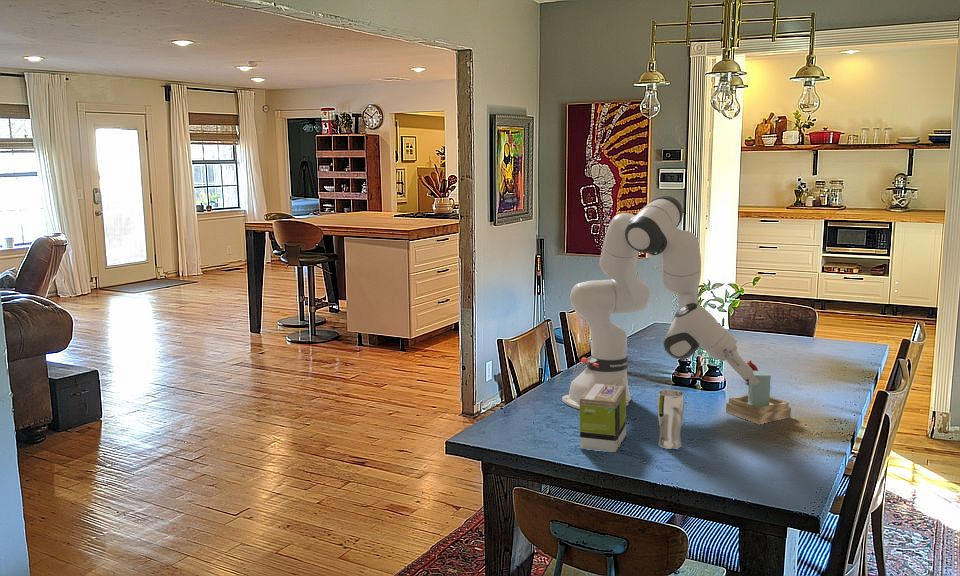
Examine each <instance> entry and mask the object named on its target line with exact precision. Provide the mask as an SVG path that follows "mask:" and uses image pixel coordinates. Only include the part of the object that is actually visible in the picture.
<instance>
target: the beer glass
mask: <svg viewBox="0 0 960 576" xmlns="http://www.w3.org/2000/svg"><path fill="white" fill-rule="evenodd" d="M684 396H685V395H684V392H683V391H681V390H678V389H670V388H669V389H667V388H666V389H662V390H659V391H658V398H657V417H658V424H659V425H658V426H659V437H658V445H659V446H661V447H663V448H669V449H672V448H679V447H682V441H681V440H682V439H681V429H682V425H683V421H684V420H683V419H684V416H685V415H684V414H685V397H684ZM659 446H658V447H659ZM663 448H662V449H663Z"/></svg>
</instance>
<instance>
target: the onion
mask: <svg viewBox="0 0 960 576" xmlns="http://www.w3.org/2000/svg"><path fill="white" fill-rule="evenodd" d="M746 363H747V364H748V365H749V366H750V367H751V369H752V370H753V371H759V368H758V367H757V366H756V364H754V363H753V362H752V360H751V359H749V360H747V362H746ZM743 380H744V381H745V382H747V383H748V384H749V379H748V378H747V379H743Z"/></svg>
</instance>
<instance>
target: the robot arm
mask: <svg viewBox="0 0 960 576" xmlns="http://www.w3.org/2000/svg"><path fill="white" fill-rule="evenodd" d="M683 209H684V208H683V206H682V204H681V202H680V201H679V200H677V198H676V197H673V196H671V195H662V196H658V197H656V198H654V199H652V200H651V201H650V202H649V203H647V204H646V205H645V206H644V207H642V208H641V209H640V210H639V212H637V213H636V214H633V213H629V212H622V213H618V214H616V215H614V216H613V217H612V219H611V221H610V223H609V225H608V226H607V230H606V232H605V236H604V239H603V243H602V249H601V251H600V252H601V253H600V258H599V261H598V262H599V267H600V270H601V271H602V273H603V275H606V276H607V277H608V278H609V279H603V280H602V279H597V280H592V279H591V280H587V281H586V280H585V281H582V282H579V283H575V284H574V286H573V287H571V291H570V295H569V302H570V305H571V307H572V309H573V310H574V312H576V313H577V314H578V315H579V316H581V317H582V319H584V321H585V322H586V324H587V325H588V328H589V332H590V336H591V338H590V339H591V355H590V357H589V358H587V357H582V358H581V359H580V363H581V364H584V365H587V366H586V368H585V369H584V370H583V371H582V372H581V373H580V374H579V375H577V376H576V377H575V378H574V379H573V380H572V381H571V383H570V385H569V386H570V387H569V392H568V393H569V394H565V395H563V396H562V397H561V401H562V403H565V405H567V406H569V407H572V408H574V409H577V410H580V398H581V397H582V396H583V395H584V393H585V392H586V391H587V390H588V388H589V387H590V386H591V385H592V384H593V383H594V384H605V385H618V386H626V407H628V406H629V404H630V403H629V402H631V400H632V397H631V394H630V393H631V392H630V389H629V382H628V371H627V370H628V368H629V357H628V355H627V353H628V351H627V350H628V349H627V348H628V347H627V346H628V344H627V343H628V335H627V333H626V331H625V329H624V328H622V327H621V326H619V325H618V324H616V323H614V322H611V318H610V317H611V315H618V314H633V313H636V312H639V311H644V310H646V308H647V306H648V305H649V303H650V299H651V292H650V291H651V290H650V289H649V286H648V285H647V283H646V282H645V281H643V280H641V279H640V278H639V276H638V274H637V265H638V259H639V253H643V254H649V255H651V256H657V255H661V273H662V282H663V285H664V288H665V289H666V290H667V291H669V292H670V293H672V294H674V295H677V296H676V297H677V298H676V299H677V311H676V313H675V314H674V316H673V319H672V322H671V324H670V327H669V329H668V331H667V333H666V335H665V338H664V341H663V348H664V350H665V352H666V354H668V355H669V356H670V357H671V358H674V359H676V360H686V359H688V358H690V357H691V356H692V355H693V354H695V353H696V352H697V350H699V348H702V349H703V350H704V351H705V352H706V353H707V354H708V355H709V356H710V357H711V358H712V359H713V360H714V361H719V360H720V361H721V362H727V364H728V365H729V366H730V367H731V368H732V369H733V370H734V371H735V372H736V373H737V374H738V375H739V376H740V377H741V378H742V379H743V380H744V379H747V378H748V379H749V380H750V381H751V382H752V383H753V384H754V385H756V384H758V383H759V380H758V379H757V378H756V377H755V375H754V374H753V373H754V371H753V370H752V369H751V367H750V366H749V365H748V364H747V363H748V362H747V361H746V360H745V359H744V358H743V356H741V354H740V352H738V350H737V349H738V346H737V342H738V341H737V339H736V338H735V337H734V336H733V335H732V334H731V333H730V331H728V330H727V329H726V328H725V327H724V326H722V325H720V324H719V323H718V320H717V319H716V318H715V317H714V316H713V315H712V314H711V313H710V312H709V311H708V310H707V309H706V308H705V307H703V306H702V305H701V304H700V303H699V301H700V300H699V287H700V283H701V278H702V277H701V275H702V274H701V273H702V256H701V255H702V254H701V249H700V243H699V239H698V237H697V235H695V234H694V233H693V232H691V231H689V230H681V229H680V228H678V227H679V225H680V224H681V222H682V220H683V216H684V210H683Z"/></svg>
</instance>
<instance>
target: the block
mask: <svg viewBox="0 0 960 576" xmlns="http://www.w3.org/2000/svg"><path fill="white" fill-rule="evenodd" d="M753 374H754V375H755V377H756V378H757V379H758V380H759V383H758V384H756V385H754V384H753V383H752V382H751V381H750V380H749V383H748V393H747V394H748V403H749V404H750V405H753V406H756V407H759V408H761V407H765V406H769V398H770V397H771V395H770V394H771V379H772V378H771V374H769V372H768V371H767V370H758V371H754V373H753Z"/></svg>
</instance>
